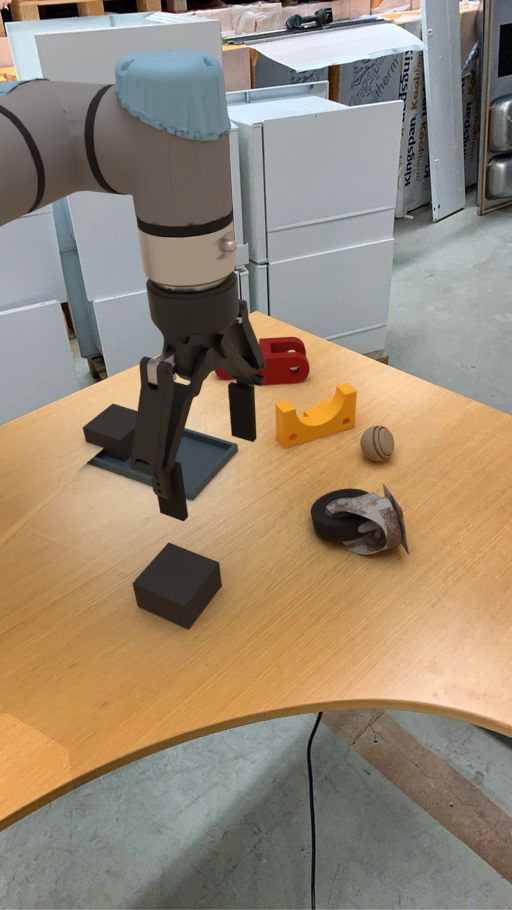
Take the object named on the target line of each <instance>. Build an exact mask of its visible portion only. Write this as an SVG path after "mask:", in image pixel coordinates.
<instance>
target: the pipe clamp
mask: <svg viewBox="0 0 512 910" xmlns="http://www.w3.org/2000/svg"><path fill="white" fill-rule="evenodd" d="M357 394H358V391H357V390H356V389H355V388H354V386H352V385H351V384H350V383H348V382H346V383H343V384H340V385H336V388H335V392H334V396H333V397H331V398H327V399H324V400H321V401H319V402H318V403H317V404H316V405H314V406H313V407H311V408H308V409H305V410H303V416H300V415H297V410H296V407H294V405H292V403H290V401H289V400H283V401H279V402H276V403H274V404H275V439H276V441H277V442H278V444H279V445H280V446H281V447H282V449H284V450H285V449H289V448H292V447H295V446H299V445H301V444H304V443H309V442H312V441H314V440H317V439H321V438H324V437H327V436H331V435H333V434H338V433H340V432H343V431H347V430H349V429H353V428H355V426H356V414H357V413H356V410H357V397H358V395H357Z"/></svg>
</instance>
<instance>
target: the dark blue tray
mask: <svg viewBox="0 0 512 910" xmlns="http://www.w3.org/2000/svg"><path fill="white" fill-rule="evenodd" d="M238 452H239V444H238V443H236V442H232V441H229V440H226V439H223V438H220V437H216V436H214V435H213V436H212V435H209V434H206V433H203V432H200V431H196V430H192V429H190V428H186V427H185V428H184V432H183V435H182V439H181V442H180V446H179V449H178V453H177V456H176V460H175V461H176V462H179V463H181V467H182V474H183V482H184V489H185V496H186V500H189V501H191V502H192V501H195V499H196V498H197V497H198V496H199V495H200V493H202V492H203V490H205V488H206V487H207V486H208V485H209V484H210V483H211V481H212V480H213V479H214V478H215V477H216V476H217V475H218V474H219V473H220V472H221V471H222V469H223V468H224V467H225V466H226V465H227V464H228V463H229V462H230V460H232V458H233V457H234V456H236V454H237V453H238ZM164 455H165V454H164ZM130 462H131V457H130V458H129V459H128V460H126V461H125V462H124V461H121V460H118V459H115V458H112V457H109V456H106V455H104V454H101V453H99V452H98V453H96V454H95V455H94V456H93V457H92V458H90V459H89V460H88V461H87V462H86V464H87V465H90V466H94V467H96V468H99V469H102V470H105V471H108V472H110V473H113V474H116V475H119V476H121V477H125V478H127V479H130V480H132V481H136V482H138V483H141V484H143V485H147V486H149V487H151V488H153V486H152V480H151V477H150V476H147V475H145V474H142V473H139V472H136V471H133V470H131V469H130Z"/></svg>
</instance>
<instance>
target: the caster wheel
mask: <svg viewBox="0 0 512 910" xmlns="http://www.w3.org/2000/svg"><path fill="white" fill-rule="evenodd" d="M382 488H383V494H384V496H381V495H380V494H378V493H376V492H373V491H372V492H368V491H366V490H364V489H360V488H341V489H337V490H336V489H335V490H333V491H330V492H327V493H325V494H323V495H322V496H320V497H319V498H317V499H316V500H315V501H314V502H313V504H312V505H311V507H310V511H309V512H310V517H311V522H312V526H313V530H314V532H315V534H316V535H317V536H319V537H320V538H321V539H323V540H326V541H330V542H337V543H343V545H344V546H345V547H346V548H347V550H349V551H351V552H352V553H355V554H357V555H371V554H375V553H379V552H382V551H386V550H389V549H393V548H395V547H399V546H401V547H403V549H404V551H405V552H406V554H407V555H410V550H409V544H408V543H409V542H408V538H407V530H406V524H405V518H404V511H403V508H402V506H401V505H400V504H399V502H398V501H397V500H396V498H395V497H394V495H393V494H392V493H391V491H390V490H389V489H388V487H387V486H386V484H385V483H384V482H382Z"/></svg>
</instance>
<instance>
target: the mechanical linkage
mask: <svg viewBox="0 0 512 910" xmlns="http://www.w3.org/2000/svg"><path fill="white" fill-rule="evenodd" d="M258 343H259V346H260V348H261V351H262V353H263V356H264V358H265V361H266V367H265V369H264V370H263V371H260V370H259V371H258V372H257V374H261V375H264V378H265V379H264V383H263V385H262V386H273V385H275V386H276V385H289V384H290V385H291V384H299V383H301V382H304V381H305V380H306V379H307V378H308V376H309V374H310V371H311V370H310V369H311V367H310V364H309V360H308V358H307V350H306V347H305V345H306V344H305V343H304V342H303V340H302V339H300V338H298V337H296V336H277V337H261V338H258ZM295 367H297V368H295ZM292 368H295V369H292ZM214 373H215V374H216V376H217V377H218V378H220V379H221V380H225V381H233V380H234V379H232V378H231V377H230V376H229V375H228V374H227V373H226V372H225V371H224V370H223V369H222V368H221V367H218V368H217V369H216V370H215V371H214ZM234 381H235V380H234Z"/></svg>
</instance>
